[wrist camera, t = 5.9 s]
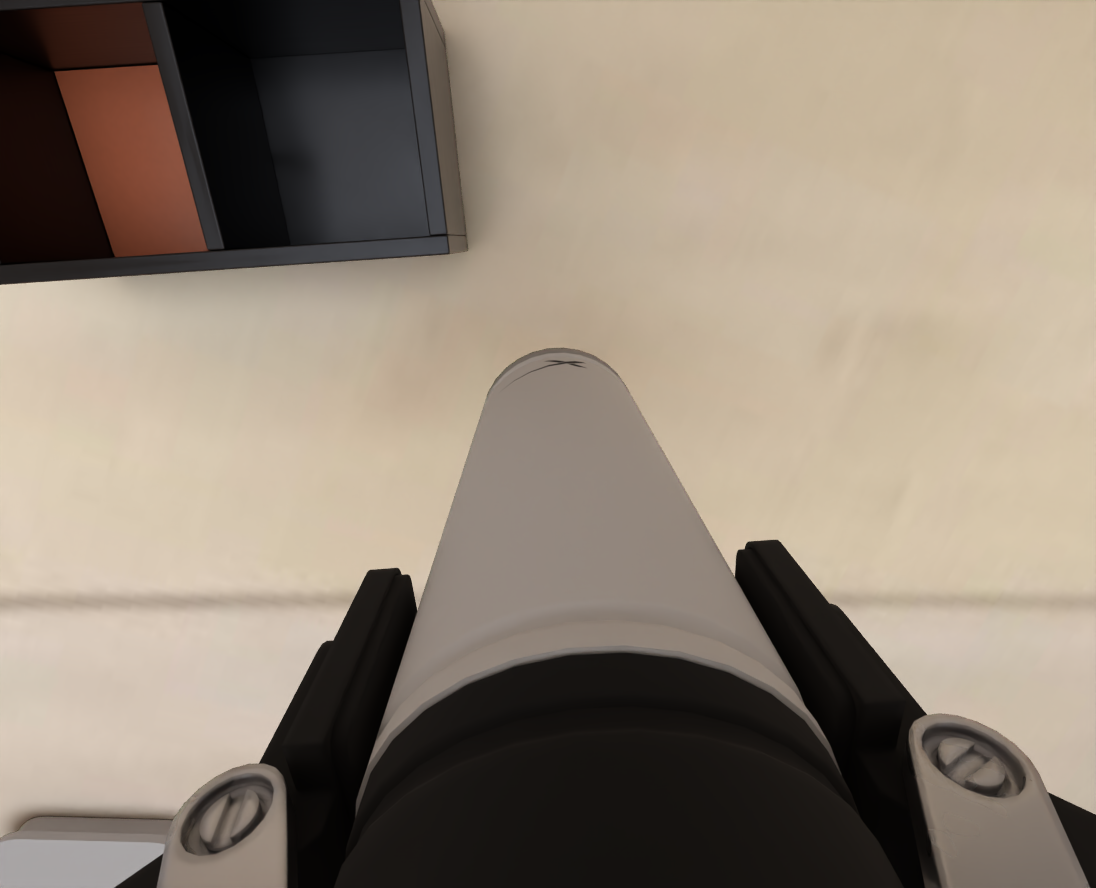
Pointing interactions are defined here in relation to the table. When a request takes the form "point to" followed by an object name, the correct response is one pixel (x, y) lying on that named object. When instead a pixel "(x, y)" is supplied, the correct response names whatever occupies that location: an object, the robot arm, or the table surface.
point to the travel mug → (593, 681)
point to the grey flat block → (79, 851)
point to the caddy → (222, 136)
